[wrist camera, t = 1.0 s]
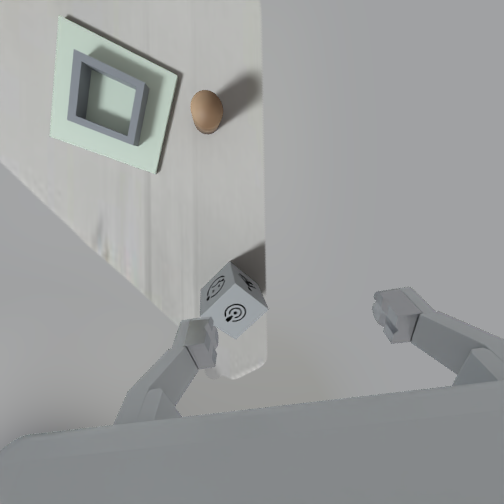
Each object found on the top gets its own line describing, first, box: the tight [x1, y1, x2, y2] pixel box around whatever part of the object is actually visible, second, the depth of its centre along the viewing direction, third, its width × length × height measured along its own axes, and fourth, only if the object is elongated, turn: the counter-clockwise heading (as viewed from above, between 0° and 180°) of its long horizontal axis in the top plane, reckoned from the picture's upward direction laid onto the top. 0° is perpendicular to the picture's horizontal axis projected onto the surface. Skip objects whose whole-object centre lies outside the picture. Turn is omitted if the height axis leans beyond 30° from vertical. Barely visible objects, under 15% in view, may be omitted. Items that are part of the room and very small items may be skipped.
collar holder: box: [50, 15, 178, 174], centre depth 34 cm, size 16×16×4 cm
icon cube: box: [200, 261, 268, 339], centre depth 49 cm, size 10×10×10 cm
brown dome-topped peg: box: [191, 90, 223, 134], centre depth 35 cm, size 4×4×9 cm
